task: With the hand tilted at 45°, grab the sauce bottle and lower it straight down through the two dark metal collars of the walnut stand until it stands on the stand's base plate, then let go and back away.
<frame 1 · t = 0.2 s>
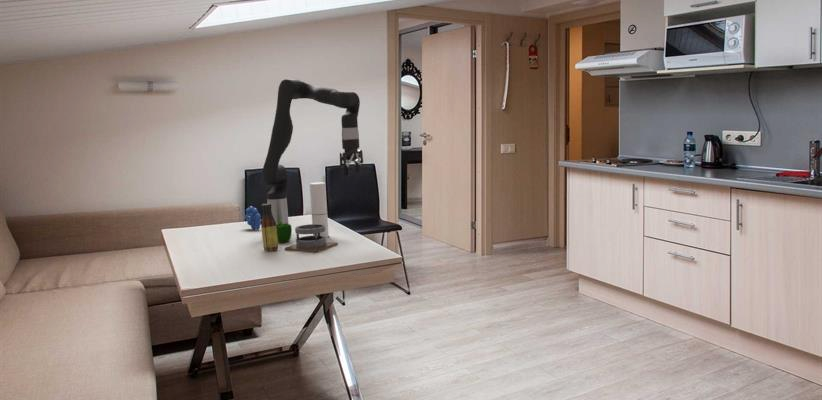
hand: (352, 174, 281), 29 cm above the table, tool pointing down, fingers open, 8 cm apart
bell pepper: (283, 242, 287), on the table
grapes: (252, 230, 321), on the table
collar stand: (311, 247, 272), on the table
cylindrical container: (320, 237, 295), on the table
sauce bottle: (270, 250, 270), on the table
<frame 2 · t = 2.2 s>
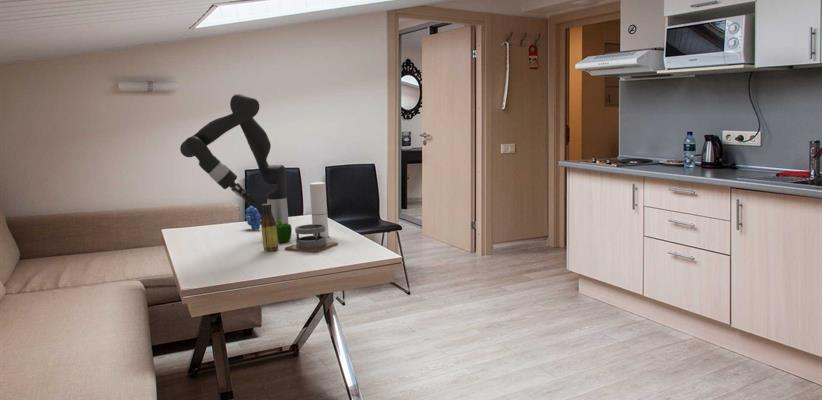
hand: (251, 202, 265), 21 cm above the table, tool tilted 40°, fingers open, 8 cm apart
nothing on the table moved.
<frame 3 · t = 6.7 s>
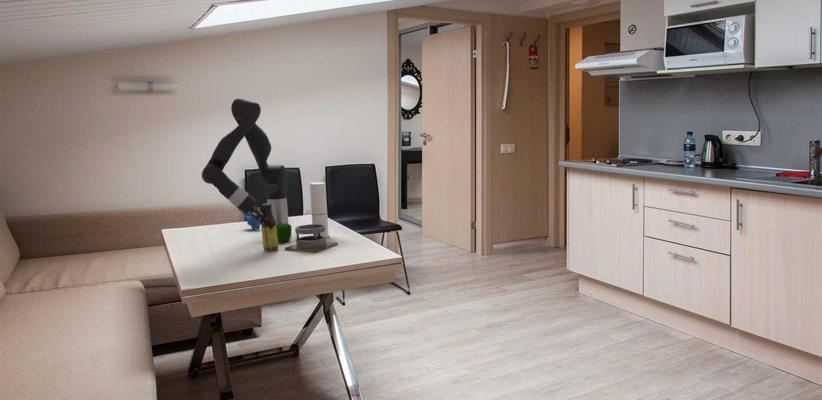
hand: (273, 225, 269), 10 cm above the table, tool tilted 45°, fingers closed on sauce bottle, 6 cm apart
sauce bottle: (270, 250, 270), on the table, touching gripper
everything else where it was.
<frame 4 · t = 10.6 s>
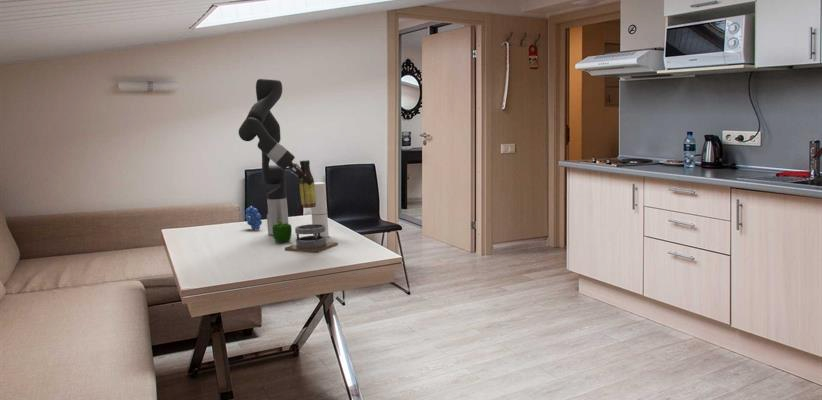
hand: (311, 182, 268), 28 cm above the table, tool tilted 45°, fingers closed on sauce bottle, 6 cm apart
sauce bottle: (308, 207, 269), point 17 cm above the table, touching gripper
everything else where it was.
when the fingers open (13 cm above the table, at t = 14.6 s): sauce bottle drops 1 cm, resting on collar stand.
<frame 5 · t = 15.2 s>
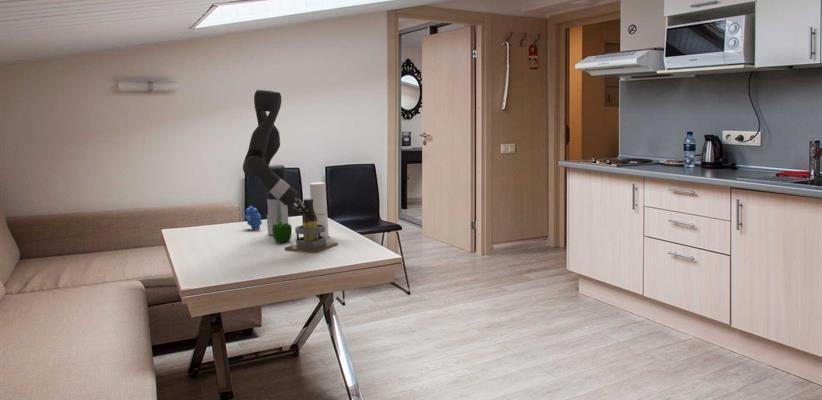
hand: (312, 217, 270), 13 cm above the table, tool tilted 45°, fingers open, 8 cm apart
sauce bottle: (310, 245, 272), point 1 cm above the table, touching collar stand
everything else where it was.
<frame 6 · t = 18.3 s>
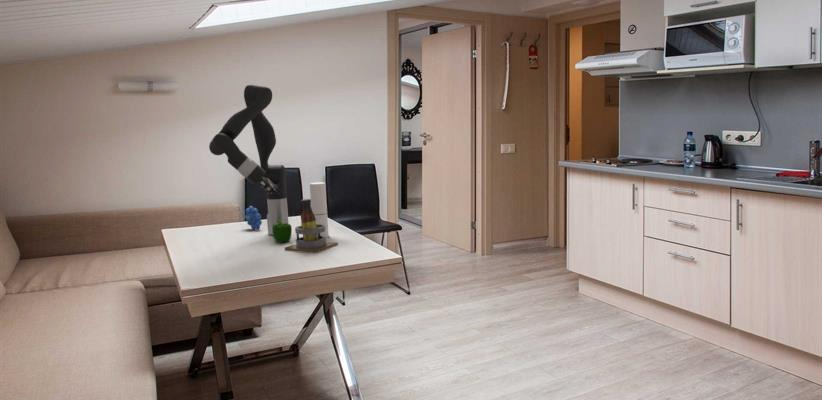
hand: (281, 196, 267), 23 cm above the table, tool tilted 45°, fingers open, 8 cm apart
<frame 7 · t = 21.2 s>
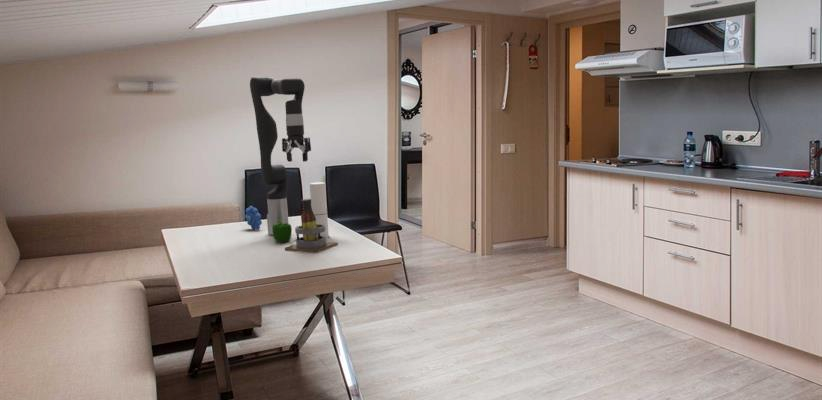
hand: (297, 161, 280), 36 cm above the table, tool pointing down, fingers open, 8 cm apart
nothing on the table moved.
at the end: sauce bottle 0.3 cm off-centre on the collar stand, point 0.8 cm above the collar stand's base; sauce bottle tilted 1°; the gripper is holding nothing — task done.
